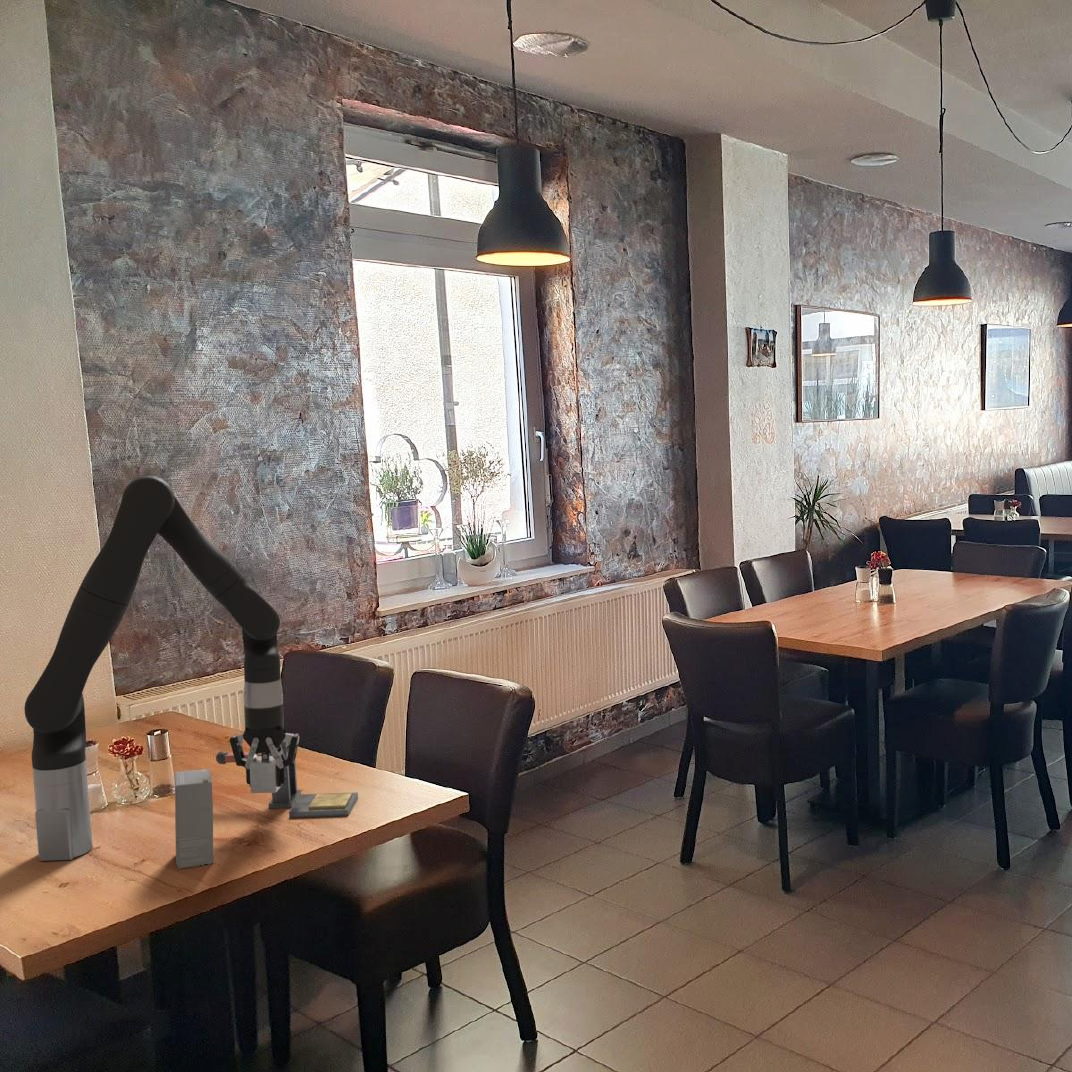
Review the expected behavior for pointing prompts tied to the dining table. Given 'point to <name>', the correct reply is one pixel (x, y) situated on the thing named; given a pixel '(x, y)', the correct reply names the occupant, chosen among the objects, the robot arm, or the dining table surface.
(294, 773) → the press bed
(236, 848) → the dining table surface
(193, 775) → the skincare box
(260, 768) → the block
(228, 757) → the press lever
